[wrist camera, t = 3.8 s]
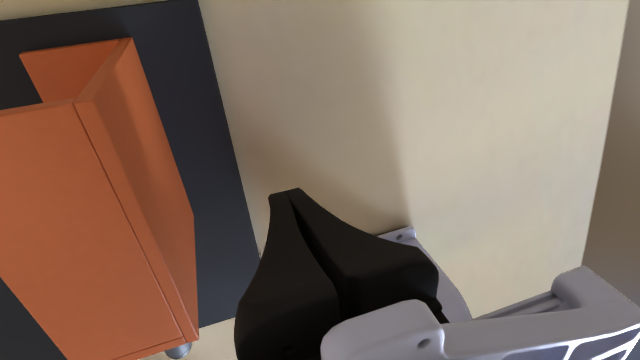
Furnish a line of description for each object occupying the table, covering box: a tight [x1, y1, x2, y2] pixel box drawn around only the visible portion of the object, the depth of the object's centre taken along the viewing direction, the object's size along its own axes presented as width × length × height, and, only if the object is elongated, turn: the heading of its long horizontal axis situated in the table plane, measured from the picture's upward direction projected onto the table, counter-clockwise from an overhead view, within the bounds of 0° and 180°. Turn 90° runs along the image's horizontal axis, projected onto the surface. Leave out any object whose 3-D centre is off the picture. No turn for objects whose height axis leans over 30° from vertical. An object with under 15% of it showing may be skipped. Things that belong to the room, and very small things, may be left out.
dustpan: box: [0, 37, 199, 360], centre depth 17 cm, size 4×17×9 cm, turn 5°
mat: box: [0, 0, 260, 360], centre depth 21 cm, size 18×22×1 cm
